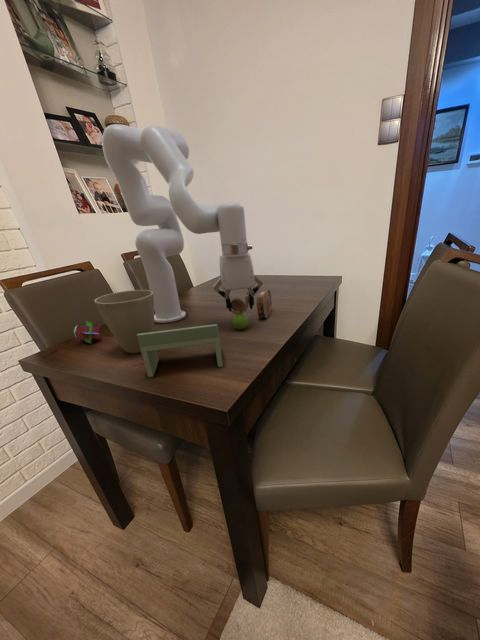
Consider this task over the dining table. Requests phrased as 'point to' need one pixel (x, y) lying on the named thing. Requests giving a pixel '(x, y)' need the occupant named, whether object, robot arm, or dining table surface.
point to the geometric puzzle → (87, 332)
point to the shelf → (176, 343)
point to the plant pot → (128, 316)
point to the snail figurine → (239, 313)
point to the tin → (264, 304)
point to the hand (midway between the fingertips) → (240, 308)
